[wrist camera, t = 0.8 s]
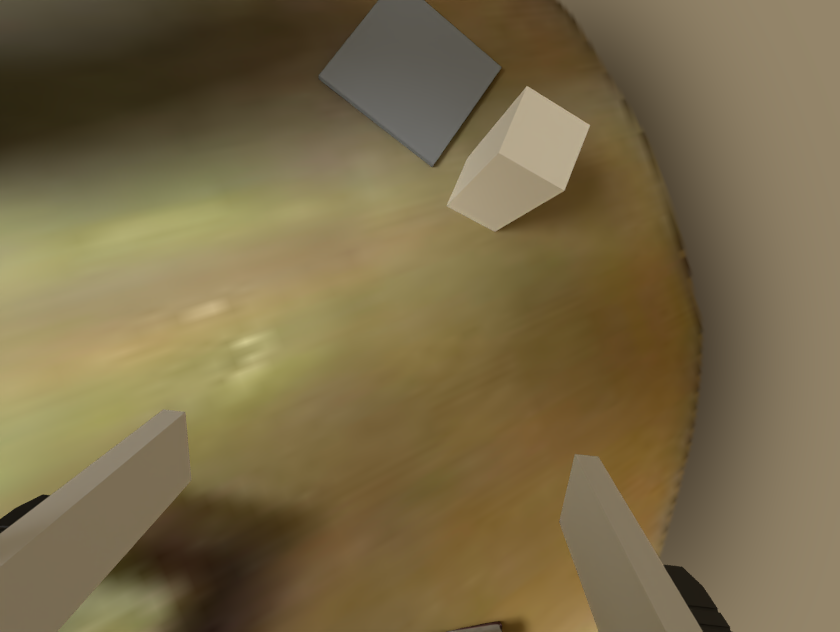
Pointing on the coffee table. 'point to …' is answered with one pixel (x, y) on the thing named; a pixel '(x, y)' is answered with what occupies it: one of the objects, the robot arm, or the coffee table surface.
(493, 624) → the book
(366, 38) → the slate mat
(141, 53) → the coffee table surface
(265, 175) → the coffee table surface
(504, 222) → the cream block
